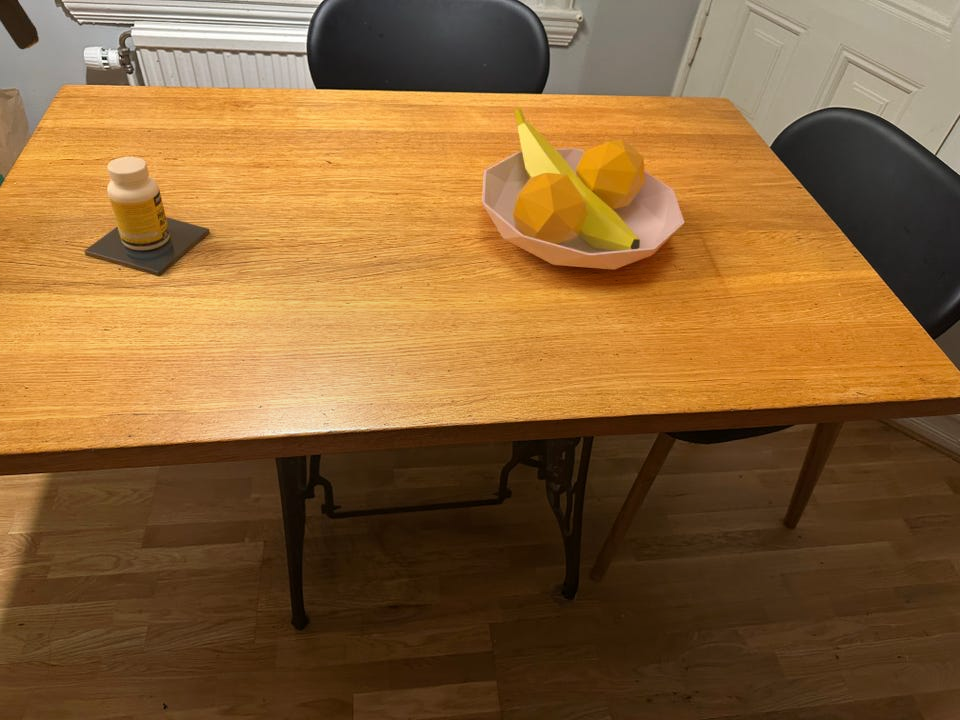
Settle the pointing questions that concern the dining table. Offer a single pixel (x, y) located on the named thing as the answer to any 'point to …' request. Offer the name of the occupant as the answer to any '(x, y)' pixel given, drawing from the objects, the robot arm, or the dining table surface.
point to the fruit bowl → (579, 202)
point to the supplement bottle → (137, 204)
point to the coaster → (149, 260)
